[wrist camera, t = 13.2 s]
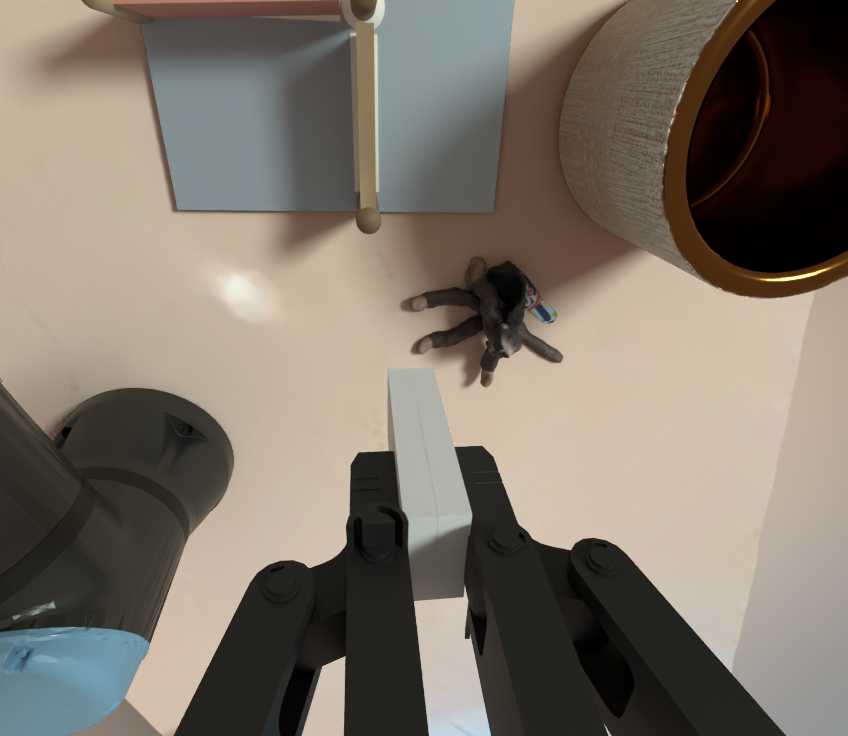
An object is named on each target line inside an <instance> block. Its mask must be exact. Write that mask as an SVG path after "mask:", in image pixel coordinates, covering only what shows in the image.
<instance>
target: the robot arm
mask: <svg viewBox="0 0 848 736" xmlns="http://www.w3.org/2000/svg"><path fill="white" fill-rule="evenodd" d="M1 382H2V380H1V378H0V736H68V735H71V734H74V733H77V732H79V731H82V730H84V729H87V728H89V727H91V726H93V725H94V724H96V723H98V722H100V721H101V720H103V719H104V718H105V717H107V716H108V715H109V714H110V713H111V712H113V711H114V709H116V707H117V706H118V705H119V704H120V703H121V701H122V700H123V698H124V697H125V696H126V694H127V692H128V690H129V687H130V685H131V683H132V681H133V678H134V676H135V674H136V672H137V669H138V667H139V665H140V663H141V661H142V660H143V659H144V658H145V656H146V654H147V653H148V650H149V646H150V642H151V639H152V637H153V634H154V631H155V628H156V625H157V623H158V620H159V617H160V614H161V611H162V609H163V606H164V603H165V600H166V597H167V595H168V592H169V589H170V586H171V583H172V581H173V578H174V575H175V572H176V569H177V567H178V564H179V561H180V558H181V555H182V553H183V549H184V547H185V544H186V542H187V539H188V537H189V536H190V535H191V533H192V532H193V531H194V530H195V529H196V528H197V527H198V526H199V525H200V523H201V522H202V521H203V520H204V519H205V518H206V516H207V515H208V514H209V513H210V512H211V511H212V510H213V509H214V508H215V507H216V506H217V505H218V504H219V502H220V501H221V499H222V498H223V496H224V494H225V492H226V490H227V487H228V484H229V481H230V478H231V475H232V472H233V467H234V455H233V450H232V446H231V443H230V441H229V439H228V437H227V435H226V433H225V432H224V430H223V429H222V427H221V426H220V425H219V424H218V423H217V421H216V420H215V419H214V418H213V417H212V416H210V415H209V414H208V413H207V412H206V411H204V410H203V409H201V408H200V407H198V406H197V405H195V404H193V403H192V402H190V401H188V400H186V399H184V398H181V397H179V396H176V395H173V394H170V393H167V392H163V391H158V390H153V389H145V388H125V389H117V390H112V391H108V392H104V393H101V394H99V395H96V396H94V397H92V398H90V399H88V400H87V401H85V402H84V403H82V404H81V405H80V406H79V407H78V408H77V409H76V410H75V411H74V412H73V413H72V414H71V415H70V416H69V417H68V419H67V420H66V421H65V422H64V423H63V424H62V426H61V427H60V428H59V430H58V432H57V433H56V435H55V437H54V440H53V442H52V440H51V439H50V438H49V437H48V436H47V435H46V434H45V433H44V432H43V430H42V429H41V428H40V427H39V426H38V425H37V424H36V423H35V422H34V421H33V419H32V418H31V417H30V416H29V415H28V414H27V413H26V412H25V411H24V409H23V408H22V407H21V406H20V405H19V404H18V402H17V401H16V400H15V399H14V398H13V397H12V396H11V394H10V393H9V392H8V391H7V390H6V389H5V387H4V386H3V385H2V384H1ZM388 445H389V451H382V452H360V453H358V454H357V456H356V457H355V459H354V461H353V462H352V464H351V478H350V479H351V482H350V516H349V517H348V521H347V524H346V534H347V544H346V546H345V548H344V549H343V550H342V551H341V552H340V554H338V555H337V556H336V557H334V558H333V559H332V560H329V561H327V562H325V563H323V564H320V565H317V566H315V567H312V568H308V567H307V566H306V565H305V564H303V563H300V562H297V561H293V560H289V561H279V562H276V563H273V564H270V565H268V566H266V567H265V568H264V569H262V570H261V571H259V572H258V573H257V574H256V576H255V577H254V578H253V580H252V581H251V582H250V584H249V586H248V588H247V590H246V592H245V594H244V596H243V598H242V600H241V602H240V604H239V606H238V608H237V610H236V612H235V614H234V616H233V618H232V620H231V622H230V624H229V626H228V628H227V630H226V632H225V634H224V636H223V638H222V640H221V642H220V644H219V646H218V648H217V650H216V652H215V654H214V656H213V658H212V660H211V662H210V664H209V666H208V668H207V670H206V672H205V674H204V676H203V678H202V680H201V682H200V684H199V686H198V688H197V690H196V692H195V694H194V696H193V698H192V700H191V702H190V704H189V706H188V708H187V710H186V712H185V714H184V716H183V718H182V720H181V722H180V724H179V726H178V728H177V730H176V732H175V734H174V736H301V735H302V732H303V729H304V725H305V722H306V719H307V715H308V712H309V709H310V705H311V702H312V699H313V696H314V692H315V689H316V686H317V682H318V679H319V676H320V672H321V669H322V666H324V665H326V664H328V663H331V662H333V661H335V660H337V659H340V658H342V657H344V656H346V660H345V711H344V736H429V733H428V724H427V715H426V706H425V697H424V688H423V679H422V670H421V661H420V652H419V643H418V634H417V625H416V616H415V607H414V601H419V600H431V599H444V598H456V597H463V596H464V586H465V587H466V592H467V596H468V609H467V618H466V626H465V639H470V634H471V639H472V644H473V649H474V654H475V659H476V664H477V669H478V673H479V678H480V683H481V688H482V693H483V698H484V703H485V708H486V713H487V718H488V723H489V728H490V732H491V736H608V733H607V731H606V728H605V726H606V727H607V729H608V731H609V732H610V734H611V735H612V736H786V735H785V734H784V733H783V732H782V731H781V729H780V728H779V727H778V726H777V725H776V724H775V723H774V722H773V720H772V719H771V718H770V717H769V716H768V715H767V714H766V712H764V710H763V709H762V708H761V707H760V706H759V704H758V703H757V702H756V701H755V700H754V699H753V698H752V696H751V695H750V694H749V693H748V692H747V691H746V690H745V689H744V687H743V686H742V685H741V684H740V683H739V682H738V681H737V679H736V678H735V677H734V676H733V675H732V674H731V673H730V671H729V670H728V669H727V668H726V667H725V666H724V665H723V664H722V662H721V661H720V660H719V659H718V658H717V657H716V656H715V654H714V653H713V652H712V651H711V650H710V649H709V648H708V646H707V645H706V644H705V643H704V642H703V641H702V640H701V638H700V637H699V636H698V635H697V634H696V633H695V632H694V631H693V629H692V628H691V627H690V626H689V625H688V624H687V623H686V621H685V620H684V619H683V618H682V617H681V616H680V615H679V613H678V612H677V611H676V610H675V609H674V608H673V607H672V605H671V604H670V603H669V602H668V601H667V600H666V599H665V598H664V596H663V595H662V594H661V593H660V592H659V591H658V590H657V588H656V587H655V586H654V585H653V584H652V583H651V582H650V580H649V579H648V578H647V577H646V576H645V575H644V574H643V573H642V571H641V570H640V569H639V568H638V567H637V566H636V565H635V563H634V562H633V561H632V560H631V559H630V558H629V557H628V555H627V554H626V553H625V552H623V551H622V550H621V549H620V548H619V547H618V546H616V545H614V544H612V543H610V542H608V541H606V540H601V539H596V538H588V539H582V540H581V541H579V542H577V543H575V545H574V546H573V548H572V550H566V549H561V548H556V547H551V546H548V545H544V544H541V543H539V542H537V541H535V540H533V539H532V538H531V536H530V535H529V533H528V532H527V531H526V530H525V529H523V528H522V527H521V526H519V524H518V522H517V520H516V517H515V514H514V512H513V509H512V506H511V503H510V501H509V498H508V495H507V493H506V490H505V487H504V484H503V483H502V479H501V476H500V474H499V473H498V468H497V465H496V463H495V460H494V457H493V456H492V455H491V454H490V453H489V452H488V451H487V450H486V449H485V448H484V447H483V446H468V447H454V444H453V440H452V437H451V433H450V429H449V426H448V422H447V418H446V414H445V411H444V407H443V403H442V400H441V396H440V392H439V388H438V385H437V381H436V377H435V373H434V370H433V368H413V369H388ZM603 722H604V723H603ZM604 724H605V726H604Z"/></svg>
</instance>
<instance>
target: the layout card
mask: <svg viewBox="0 0 848 736" xmlns="http://www.w3.org/2000/svg"><path fill="white" fill-rule="evenodd" d="M339 5H340V15H305V16H254V17H204V18H154V20H153V21H152V22H151V23H150V24H146V25H145V24H141V29H142V34H143V39H144V44H145V49H146V54H147V59H148V64H149V69H150V74H151V79H152V84H153V89H154V94H155V99H156V104H157V109H158V114H159V119H160V124H161V129H162V134H163V139H164V144H165V149H166V154H167V159H168V164H169V169H170V174H171V180H172V185H173V190H174V195H175V200H176V205H177V210H249V211H345V212H356V209H357V196H358V194H359V193H360V165H359V128H358V90H357V53H356V22H364V23H374V72H375V154H376V196H377V200H378V205H379V211H380V212H441V213H494V203H495V193H496V183H497V172H498V162H499V152H500V142H501V132H502V122H503V111H504V101H505V91H506V81H507V71H508V61H509V50H510V40H511V30H512V20H513V10H514V0H377V4H376V9H375V13H374V15H373V16H372V18H371V19H369V20H367V21H361V20H359V19H357V18H356V17H355V16H354V14H353V13H352V10H351V3H350V0H339Z"/></svg>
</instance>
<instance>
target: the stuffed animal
mask: <svg viewBox="0 0 848 736" xmlns="http://www.w3.org/2000/svg"><path fill="white" fill-rule="evenodd" d="M485 271H486V267H485V262H484V260H483V259H481V258H473V259H472V260H471V262H470V265H469V268H468V270H467V272H466V274H465V279H466V282H467V283H468V285H469V286H471V288H472V291H466V290H461V289H460V288H457V287H453V288H451V289H446V290H439V291H433V292H426V293H425V294H423V295H422V296H417V297H414V298H413V299H411V301H410V306H411V309H412V310H414V311H417V312H420V311H422V310H424V309H425V308H434V307H436V306H441V305H458V306H468V307H470V308H471V309H472V310H476V311H477V312H478V315H476V316H475V317H471V318H469V319H467V320H466V321H464V322H463V323H461V324H460V325H459V326H458V327H456V328H453V329H451V330H448V331H437V332H434V333H432V334H430V335H428V336H426V337H425V338H424V339H422V340H421V342H420V343H419V345H418V347H417V352H418V353H419V354H424V353H425V352H426V351H428V350H429V349H430V348H439V347H448V346H451V345H455V344H457V343H458V342H460V341H463V340H465V339H466V338H468V337H471V336H474V335H476V334H477V333H478V332H480V331H482V330H484V333H485V335H486V336H487V338H488V340H487V341H486V346H487V348H486V350H485V352H484V354H483V356H482V359H481V363H480V365H481V368H482V372H481V381H480V383H481V384H482V386H484V387H488V386H490V384H491V382H492V381H493V373H494V370H495V368H496V366H497V363H498V360H499V359H500V358H503V357H504V358H509V357H510V356H511V355H512V354H514V353H515V352H517V351H519V350H521V348H522V345H521V342H522V343H525V344H526V345H528V346H529V347H530V348H532V349H533V350H534V351H536V352H537V353H539V354H540V355H542V356H544V357H546V358H548V359H550V360H551V361H554V362H556V363H561V361H562V359H563V355H562V354H561V353H560V352H559V351H558V350H557V349H555V348H553V347H551V346H550V345H548V344H546V343H545V342H544V341H543V340H541V339H539V338H538V337H536V336H534V335H532V334H531V333H530V332H529V331H528V329H527V328H526V326H525V324H524V323H523V321H522V320H523V316H524V308H526V309H527V310H528V311H529V312H530V313H532V314H533V315H534V316H535V317H536V318H537V319H539V320H540V321H541V322H543V323H548V324H549V323H553V322H554V321H555V320H556V317H557V313H556V311H555V310H554V309H553V308H552V307H551V306H550V305H549V304H548V303H547V302H546V301H544V300H543V299H542V297H541V296H540V295H539V293H538V291H537V290H536V289H535V287H534V286H533V284H532V283H531V281H530V280H529V279H528V278H527V276H526V275H525V274H524V273H523V272H522V271H521V270H520V269H519V268H517V267H516V266H515V265H514V264H512V263H511V262H510V261H507V262H505V263H503V264H501V265H499V266H496V267H492V268H490V269H489V270H488V271H487V274H486V277H485ZM486 278H487V280H486ZM499 298H500V299H501V301H502V302H503V303H504V304H505V305H506V307H504V308H503V307H501V306H500V301H499Z"/></svg>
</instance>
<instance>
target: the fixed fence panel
mask: <svg viewBox="0 0 848 736" xmlns="http://www.w3.org/2000/svg"><path fill="white" fill-rule="evenodd" d="M350 3H351V10H352V13H353V14H354V16H355V17H356V18H357V19H359V20H361V21H367V20H369V19H371V18H372V16H373V15H374V13H375V9H376V4H377V0H350ZM356 53H357V90H358V128H359V165H360V193H359V194H358V196H357V209H356V223H357V227H358V228H359V230H360V231H362V232H363V233H366V234H373V233H375V232H376V231H378V230H379V228H380V226H381V217H380V211H379V205H378V200H377V196H376V154H375V72H374V23H364V22H356Z"/></svg>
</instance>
